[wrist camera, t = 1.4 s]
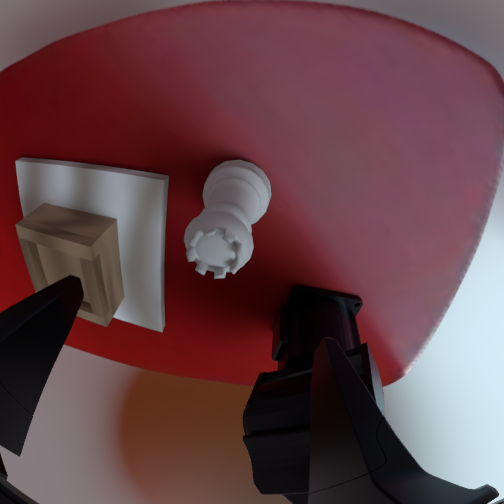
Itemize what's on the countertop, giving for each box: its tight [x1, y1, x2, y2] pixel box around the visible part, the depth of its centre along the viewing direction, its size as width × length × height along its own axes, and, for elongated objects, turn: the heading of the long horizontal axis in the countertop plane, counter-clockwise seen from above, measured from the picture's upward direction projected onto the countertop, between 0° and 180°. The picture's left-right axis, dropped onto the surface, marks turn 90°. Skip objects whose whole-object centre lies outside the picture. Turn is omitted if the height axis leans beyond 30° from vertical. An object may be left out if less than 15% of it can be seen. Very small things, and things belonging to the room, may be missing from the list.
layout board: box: [15, 157, 169, 332], centre depth 21 cm, size 16×16×5 cm
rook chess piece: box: [184, 160, 271, 279], centre depth 15 cm, size 4×4×8 cm
